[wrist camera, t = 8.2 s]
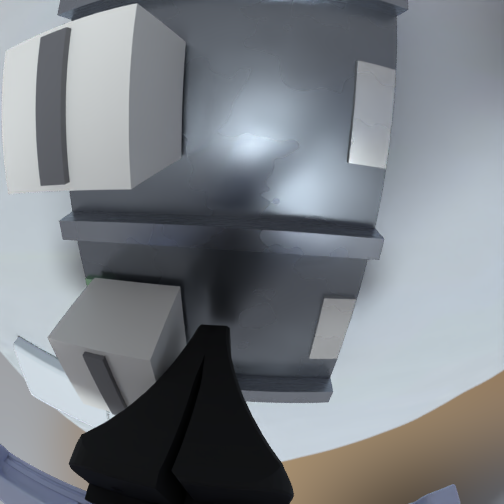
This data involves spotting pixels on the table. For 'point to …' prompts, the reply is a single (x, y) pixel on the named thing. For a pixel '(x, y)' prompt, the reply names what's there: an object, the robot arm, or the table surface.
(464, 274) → the table surface
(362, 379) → the table surface
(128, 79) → the block
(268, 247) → the panel
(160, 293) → the breaker
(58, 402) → the external hard drive
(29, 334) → the table surface
